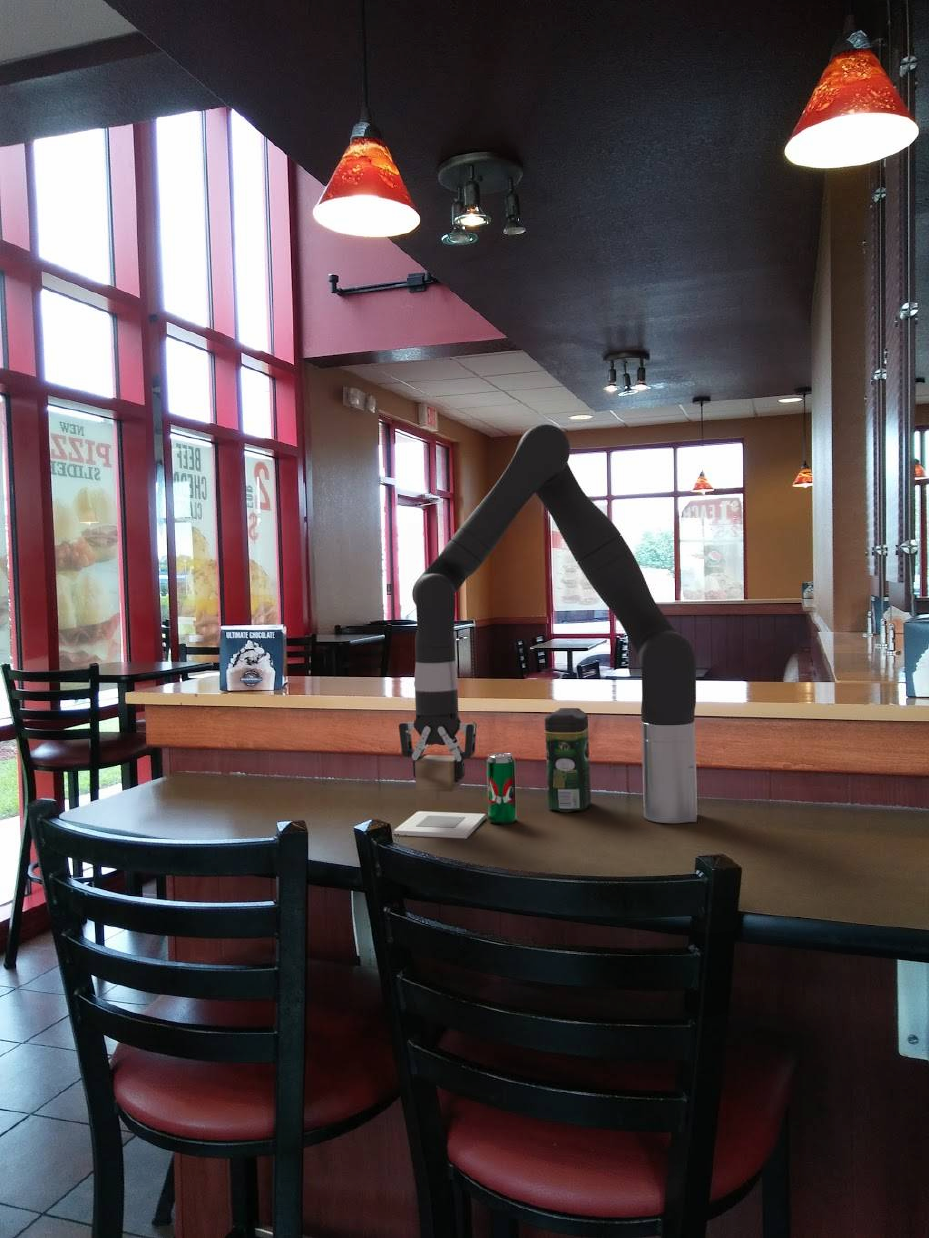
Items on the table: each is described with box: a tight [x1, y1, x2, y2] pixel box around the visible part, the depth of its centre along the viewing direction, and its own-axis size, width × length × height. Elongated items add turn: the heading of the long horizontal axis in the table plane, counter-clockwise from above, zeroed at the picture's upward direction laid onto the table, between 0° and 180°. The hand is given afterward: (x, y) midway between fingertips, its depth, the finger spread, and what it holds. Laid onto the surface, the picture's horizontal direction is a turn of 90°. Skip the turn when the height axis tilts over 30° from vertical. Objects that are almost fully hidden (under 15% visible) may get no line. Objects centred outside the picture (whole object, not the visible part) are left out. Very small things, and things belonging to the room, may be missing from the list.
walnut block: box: [415, 754, 463, 793], centre depth 162 cm, size 6×6×5 cm
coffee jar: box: [544, 707, 592, 813], centre depth 173 cm, size 10×8×19 cm
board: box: [393, 810, 487, 839], centre depth 163 cm, size 13×13×1 cm
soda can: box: [486, 752, 518, 825], centre depth 164 cm, size 5×5×12 cm
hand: (439, 780), depth 162 cm, fingers closed on walnut block, 6 cm apart
